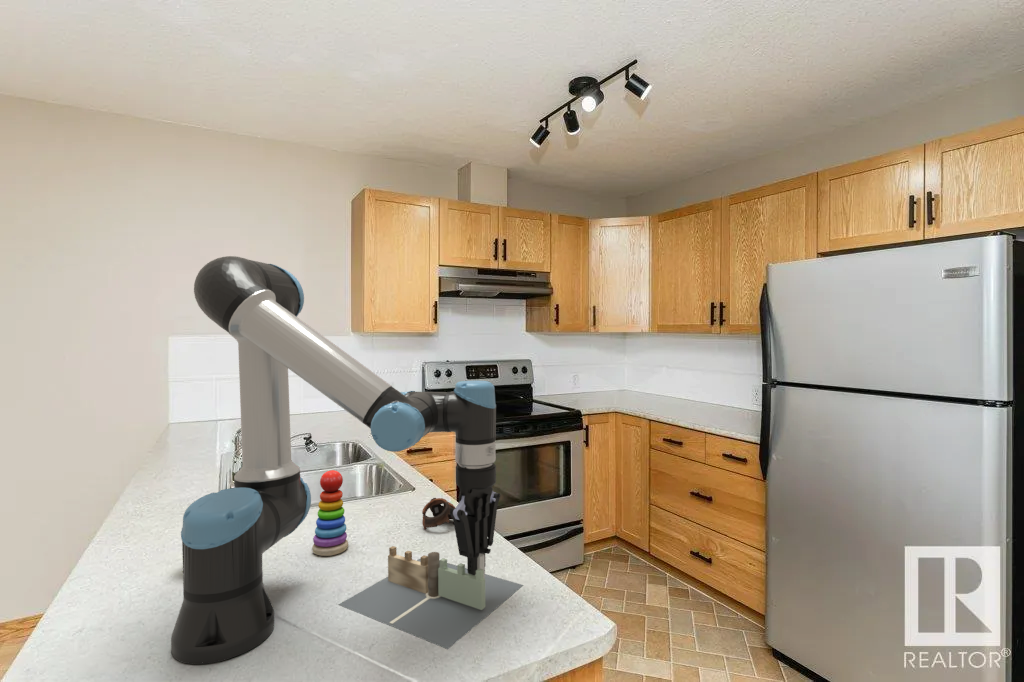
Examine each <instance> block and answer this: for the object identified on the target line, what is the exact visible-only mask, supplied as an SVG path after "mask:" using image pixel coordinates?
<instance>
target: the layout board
mask: <svg viewBox="0 0 1024 682" xmlns="http://www.w3.org/2000/svg"><path fill="white" fill-rule="evenodd" d="M416 561H419V562H421V557H420V558H418V559H417V560H416ZM447 567H448V568H451V569H454V570H457V564H452V563H449V562H447ZM465 573H468V569H467V567H465ZM468 574H469V573H468ZM523 586H524V585H523V584H521V583H517V582H514V581H510V580H507V579H504V578H500V577H498V576H493V575H490V574H486V573H485V608H484V609H482V610H480V609H477V608H474V607H471V606H468V605H465V604H462V603H459V602H456V601H453V600H450V599H447V598H444V597H441V596H439V595H438V596H436V597H430V596H429V595H428V592H427V593H426V594H425V593H422V592H419V591H416V590H413V589H411V588H408V587H405V586H402V585H399V584H396V583H393V582H390V581H388V576H386V577H384V578H383V579H381V580H380V581H378V582H376V583H374V584H372V585H371V586H368V587H366V588H365V589H363V590H361V591H360V592H358V593H356V594H354V595H353V596H351V597H349V598H347V599H345V600H344V601H342V602H340V603H338V604H337V605H338V606H340V607H343V608H345V609H347V610H350V611H353V612H354V613H357V614H360V615H363V616H365V617H367V618H370V619H373V620H375V621H377V622H380V623H381V624H384V625H387V626H389V627H391V628H394V629H396V630H399V631H402V632H405V633H406V634H409V635H412V636H415V637H416V638H419V639H421V640H424V641H427V642H429V643H432V644H434V645H436V646H439V647H441V648H444V649H446V650H449V649H450V648H451V647H452V646H453V645H455V644H456V643H457V642H458V641H459V640H460V639H462V638H463V637H465V635H466V634H468V633H470V631H471V630H472V629H473V628H475V627H476V626H478V625H479V623H481V622H483V620H484V619H486V618H487V617H488V616H489V615H490V614H492V613H493V612H494V611H495V610H496V609H498V608H499V607H500V606H501V605H502V604H504V602H506V601H507V600H508V599H509V598H511V597H512V596H513V595H514V594H516V592H518V591H519V590H521V588H522V587H523Z"/></svg>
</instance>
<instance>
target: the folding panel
mask: <svg viewBox="0 0 1024 682" xmlns="http://www.w3.org/2000/svg"><path fill="white" fill-rule="evenodd" d="M447 563H448V559H447V558H441V559H440V568H438V595H439V596H441V597H444V598H447V599H450V600H453V601H456V602H459V603H462V604H465V605H468V606H471V607H474V608H477V609H480V610H482V609H484V608H485V578H483V570H482V569H477V570H476V576H475V575H471V574H468V573H465V568H466V564H465V563H458V564H456V566H457V570H454V569H451V568H448V567H447Z"/></svg>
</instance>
